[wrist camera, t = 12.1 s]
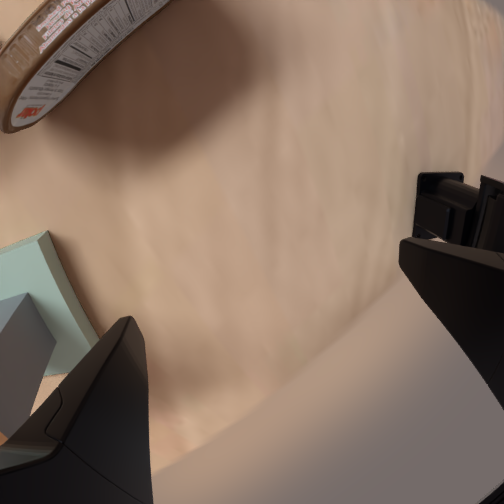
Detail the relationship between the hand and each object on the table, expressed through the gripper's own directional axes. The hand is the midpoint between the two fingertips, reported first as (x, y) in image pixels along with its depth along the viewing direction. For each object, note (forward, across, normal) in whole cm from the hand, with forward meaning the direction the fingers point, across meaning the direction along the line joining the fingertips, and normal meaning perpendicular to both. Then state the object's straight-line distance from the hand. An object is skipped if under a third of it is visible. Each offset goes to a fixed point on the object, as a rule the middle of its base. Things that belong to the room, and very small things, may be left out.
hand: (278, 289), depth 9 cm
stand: (+13, +20, +5) cm, 24 cm away
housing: (+11, +20, +5) cm, 23 cm away
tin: (+13, +6, -13) cm, 19 cm away
